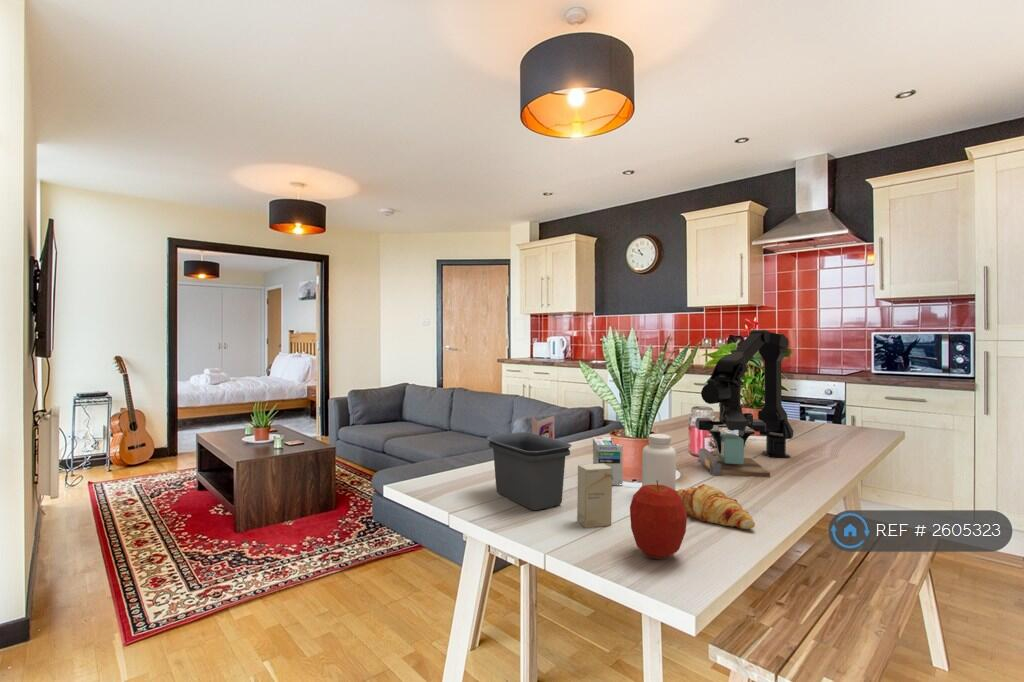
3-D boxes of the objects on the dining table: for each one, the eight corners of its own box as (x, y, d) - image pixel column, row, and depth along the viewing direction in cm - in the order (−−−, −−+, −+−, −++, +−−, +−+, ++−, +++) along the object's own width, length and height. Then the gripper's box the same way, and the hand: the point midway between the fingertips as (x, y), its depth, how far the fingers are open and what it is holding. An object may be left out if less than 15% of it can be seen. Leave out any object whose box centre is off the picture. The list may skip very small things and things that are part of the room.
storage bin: (481, 492, 128) (481, 435, 127) (531, 481, 136) (531, 429, 136) (530, 518, 110) (530, 452, 109) (584, 504, 118) (584, 444, 118)
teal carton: (724, 463, 146) (724, 439, 146) (716, 455, 155) (716, 432, 155) (743, 463, 145) (743, 439, 145) (734, 456, 154) (734, 433, 154)
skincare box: (585, 528, 104) (585, 470, 104) (576, 520, 108) (576, 464, 108) (612, 525, 106) (613, 467, 105) (603, 517, 110) (603, 462, 110)
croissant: (762, 546, 104) (773, 509, 105) (736, 533, 99) (748, 494, 100) (678, 512, 122) (689, 481, 123) (652, 500, 117) (664, 467, 118)
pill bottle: (678, 502, 120) (678, 439, 120) (643, 500, 121) (644, 438, 121) (673, 491, 128) (673, 432, 127) (640, 490, 129) (640, 431, 129)
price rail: (698, 459, 160) (698, 448, 160) (705, 459, 160) (705, 448, 160) (712, 475, 142) (712, 463, 142) (720, 475, 142) (720, 463, 142)
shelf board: (706, 460, 159) (706, 456, 159) (750, 461, 157) (750, 457, 157) (721, 475, 142) (721, 471, 142) (770, 477, 140) (770, 473, 140)
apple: (662, 574, 84) (662, 492, 84) (616, 553, 93) (617, 477, 92) (698, 558, 90) (699, 481, 90) (653, 539, 99) (653, 468, 98)
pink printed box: (539, 474, 143) (539, 421, 143) (516, 470, 147) (516, 419, 146) (556, 465, 153) (556, 415, 153) (535, 462, 157) (535, 413, 156)
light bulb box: (623, 486, 133) (623, 445, 132) (597, 485, 133) (597, 445, 132) (615, 474, 143) (616, 436, 143) (592, 474, 143) (592, 436, 143)
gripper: (703, 404, 143) (703, 459, 143) (773, 405, 140) (772, 461, 141) (695, 399, 154) (694, 450, 154) (759, 400, 151) (759, 452, 152)
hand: (729, 453), depth 150 cm, fingers closed on teal carton, 5 cm apart
